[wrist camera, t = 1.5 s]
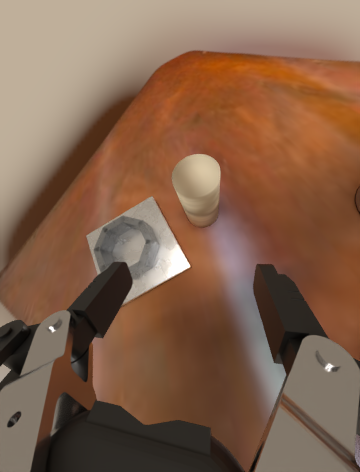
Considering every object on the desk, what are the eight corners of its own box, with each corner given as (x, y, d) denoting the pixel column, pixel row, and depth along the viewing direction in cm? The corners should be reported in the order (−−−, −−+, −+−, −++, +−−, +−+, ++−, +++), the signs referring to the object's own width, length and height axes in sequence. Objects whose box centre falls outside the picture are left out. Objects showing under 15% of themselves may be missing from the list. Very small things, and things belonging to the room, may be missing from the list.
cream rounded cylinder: (207, 193, 26) (203, 145, 17) (224, 217, 25) (230, 178, 15) (181, 208, 27) (163, 170, 17) (196, 233, 25) (185, 205, 16)
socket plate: (155, 200, 28) (144, 186, 24) (191, 267, 24) (186, 264, 19) (92, 237, 29) (71, 230, 25) (115, 310, 24) (94, 316, 20)
